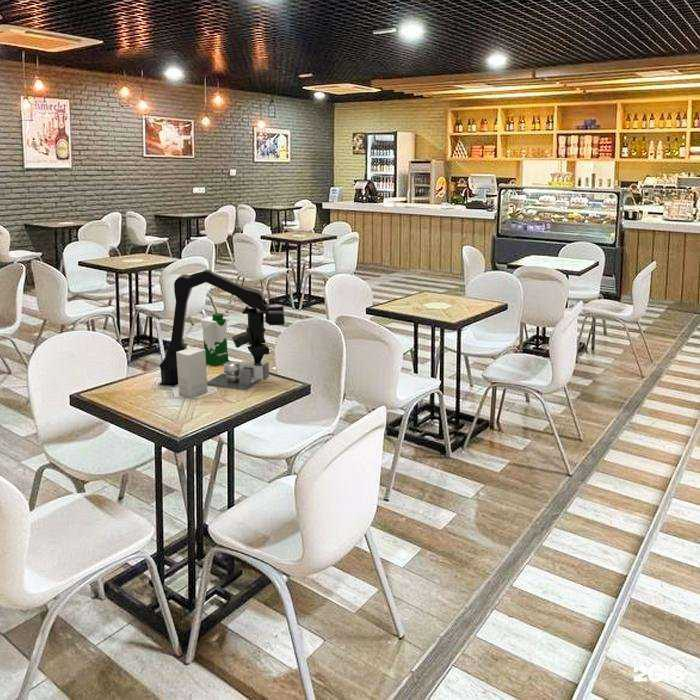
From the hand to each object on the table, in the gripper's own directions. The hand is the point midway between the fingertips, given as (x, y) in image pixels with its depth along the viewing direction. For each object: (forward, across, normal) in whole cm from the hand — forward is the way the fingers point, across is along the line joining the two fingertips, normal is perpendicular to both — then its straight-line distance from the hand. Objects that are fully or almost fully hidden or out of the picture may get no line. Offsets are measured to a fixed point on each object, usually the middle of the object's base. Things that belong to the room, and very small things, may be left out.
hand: (257, 366), depth 264 cm
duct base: (+6, -1, -9) cm, 10 cm away
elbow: (+3, +1, -4) cm, 5 cm away
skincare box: (+6, +7, -24) cm, 25 cm away
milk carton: (+7, -29, -12) cm, 32 cm away
